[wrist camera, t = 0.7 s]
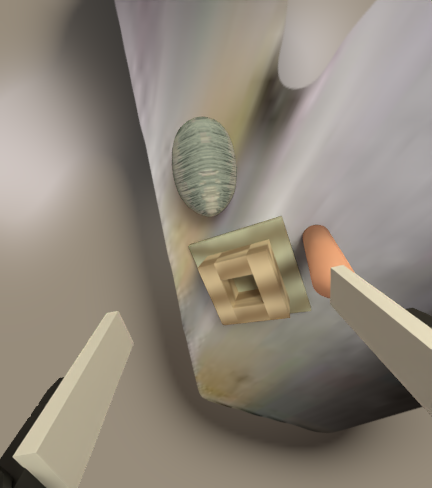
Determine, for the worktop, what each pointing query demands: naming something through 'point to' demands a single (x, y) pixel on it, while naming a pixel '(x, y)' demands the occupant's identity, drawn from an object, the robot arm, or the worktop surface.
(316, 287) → the peg
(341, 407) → the worktop surface
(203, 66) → the worktop surface
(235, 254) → the socket
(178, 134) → the green striped ellipsoid
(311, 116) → the worktop surface
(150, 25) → the worktop surface
